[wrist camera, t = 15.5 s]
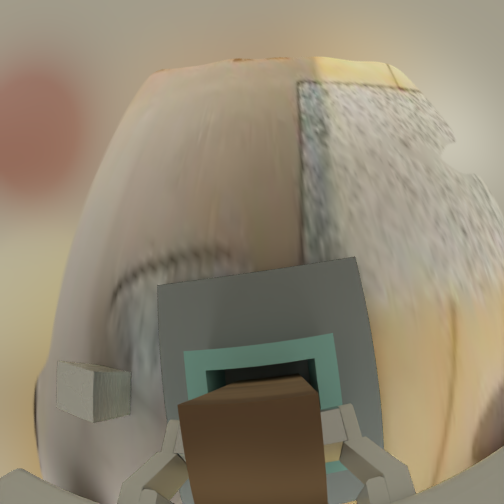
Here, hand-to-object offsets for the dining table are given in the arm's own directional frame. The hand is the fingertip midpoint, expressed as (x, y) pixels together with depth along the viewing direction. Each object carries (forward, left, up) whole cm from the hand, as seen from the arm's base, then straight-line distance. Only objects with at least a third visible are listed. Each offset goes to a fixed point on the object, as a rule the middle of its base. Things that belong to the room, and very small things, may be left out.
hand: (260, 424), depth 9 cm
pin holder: (-1, 0, -11) cm, 11 cm away
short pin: (-2, +14, -11) cm, 18 cm away
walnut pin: (-1, 0, -8) cm, 8 cm away
